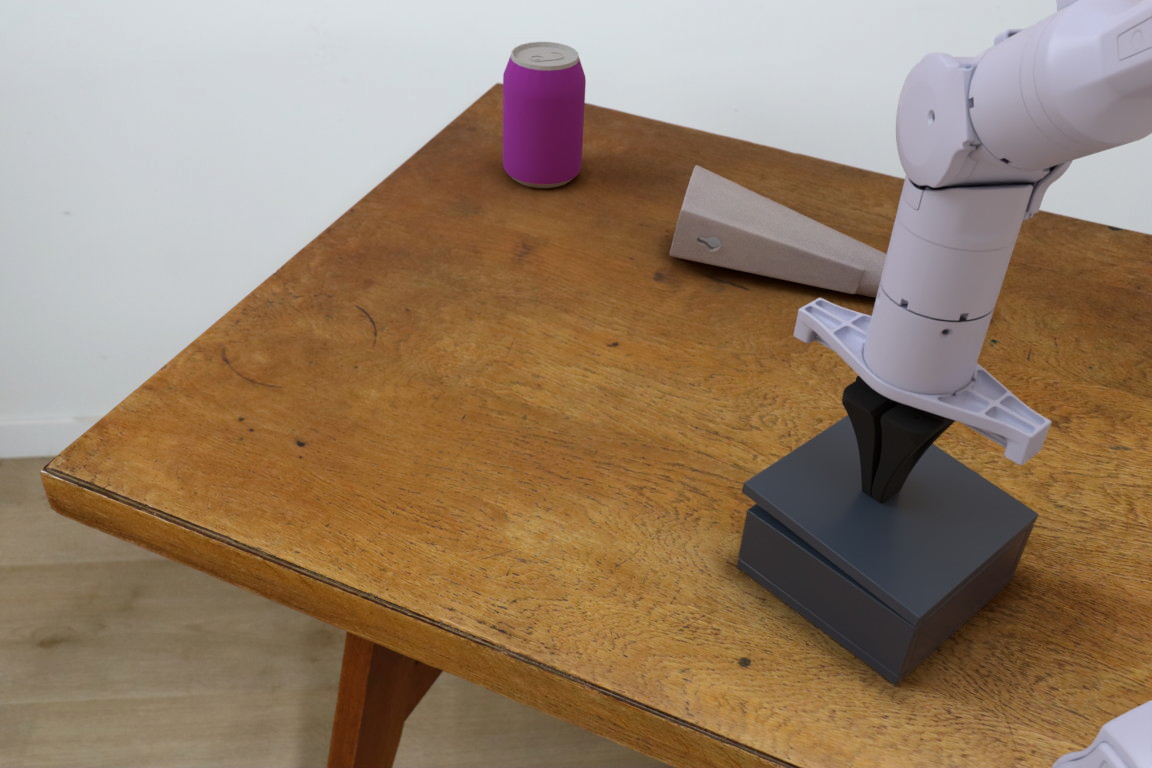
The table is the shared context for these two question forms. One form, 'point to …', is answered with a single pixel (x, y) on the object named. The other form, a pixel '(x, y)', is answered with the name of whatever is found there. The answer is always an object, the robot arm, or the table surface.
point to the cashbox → (861, 597)
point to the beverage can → (543, 114)
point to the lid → (892, 519)
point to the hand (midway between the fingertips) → (881, 490)
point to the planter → (769, 239)
